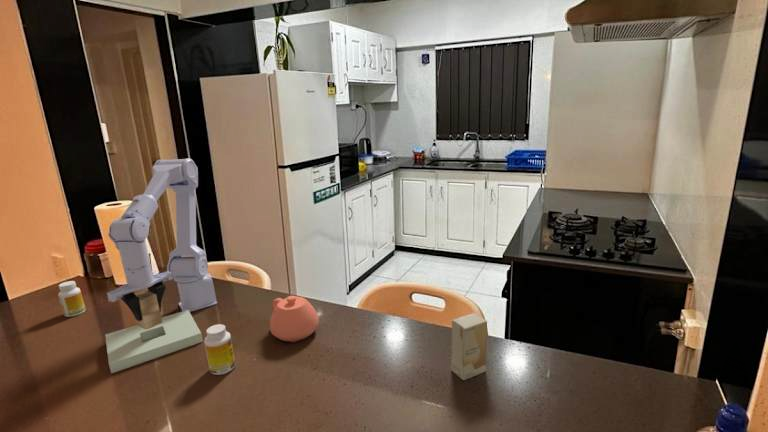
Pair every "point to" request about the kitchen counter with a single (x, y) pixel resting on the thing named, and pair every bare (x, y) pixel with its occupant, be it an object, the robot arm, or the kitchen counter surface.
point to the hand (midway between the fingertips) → (148, 315)
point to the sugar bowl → (293, 319)
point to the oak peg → (149, 310)
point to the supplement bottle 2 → (219, 350)
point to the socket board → (151, 341)
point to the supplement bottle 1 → (71, 299)
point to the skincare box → (469, 345)
